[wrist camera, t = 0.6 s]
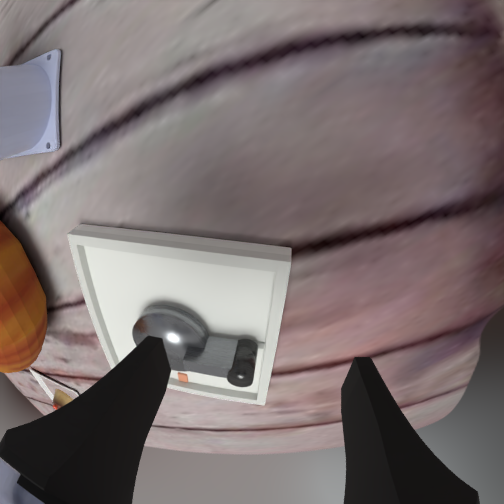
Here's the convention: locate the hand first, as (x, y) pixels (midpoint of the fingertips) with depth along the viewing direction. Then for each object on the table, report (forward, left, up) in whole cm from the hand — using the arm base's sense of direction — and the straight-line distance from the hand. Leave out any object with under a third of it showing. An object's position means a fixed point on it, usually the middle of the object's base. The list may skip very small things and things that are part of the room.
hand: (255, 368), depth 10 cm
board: (-7, -8, -10) cm, 14 cm away
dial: (-5, -8, -8) cm, 12 cm away
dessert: (-33, -35, -10) cm, 49 cm away
